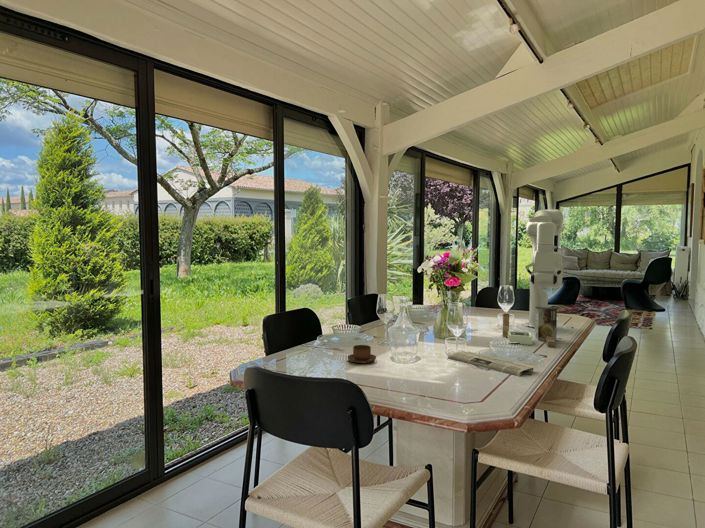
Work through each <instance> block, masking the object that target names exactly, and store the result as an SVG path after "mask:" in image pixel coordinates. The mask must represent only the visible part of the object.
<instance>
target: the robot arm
mask: <svg viewBox="0 0 705 528" xmlns="http://www.w3.org/2000/svg"><path fill="white" fill-rule="evenodd" d="M563 224H564V215H563V212H562V211H561V210H560V209H539V210H537V211H535V213H534V215H533V217H531V218H528V220H527V221H526V224H525V234H526V236H527V237H529V239H530V241H531V262H530V263H529V264H527V265H525V266H524V267H525V269H526V272H527V273H528V284H529V313H528V314H529V318H528V322H526V325H527V326H526V325H525V326H526V327H528V326H529V327H528V328H532V327H534V328H533V329H535V308H536V307H549V306H548V303H549V301H548V299H549V297H548V294H547V291H546V290H544V289H559V288H561V287H562V285H563V270H564V268H565V267H564V266H563V256H562V253H560V252H557V251H555V250H557V245H554V238H555V236H558V235H560V234H561V233H562V230H563V229H562V228H563V226H564V225H563ZM530 267H531V268H532V271H531V270H530Z"/></svg>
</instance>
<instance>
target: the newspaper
mask: <svg viewBox="0 0 705 528" xmlns="http://www.w3.org/2000/svg"><path fill="white" fill-rule="evenodd" d="M479 354H480V353H476V352H472V351H469V350H468V351H465V350H463V351H462V350H460V351H456V352H452V353H450V354H448V355H447V359H449V360H453V361H457V362H458V361H459V362H461V363H466V364H469V365H473V366H478V367H481V368H485V369H489V370H494V371H497V372H501V373H505V374H509V375H513V376H516V377H517V376H518V377H520V376H521V375H523V374H524V373H523V371H526V372H531V373H533V372H534V369H535V367H537V366H538V363H534V362H533V363H532V362H525V361H517V360H510V359H504V358H503V359H502V358H498V357H492V356H490V355H486V356H482V355H483V354H481V355H479ZM488 356H489V357H488Z"/></svg>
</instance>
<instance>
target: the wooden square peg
mask: <svg viewBox="0 0 705 528" xmlns="http://www.w3.org/2000/svg"><path fill="white" fill-rule="evenodd" d="M508 331H510V313H509V312H502V338H503V337H504V338H508Z"/></svg>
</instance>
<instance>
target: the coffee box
mask: <svg viewBox="0 0 705 528" xmlns="http://www.w3.org/2000/svg"><path fill="white" fill-rule="evenodd" d="M557 313H558V309H557V308H556V307H554V306H548V307H536V308H535V328H534V338H535V339H536V340H537V341H546V336H553V338H554V340H555V341H557V328H558V327H557V324H558V323H557V322H558V320H557V318H558V317H557V316H558V314H557Z"/></svg>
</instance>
